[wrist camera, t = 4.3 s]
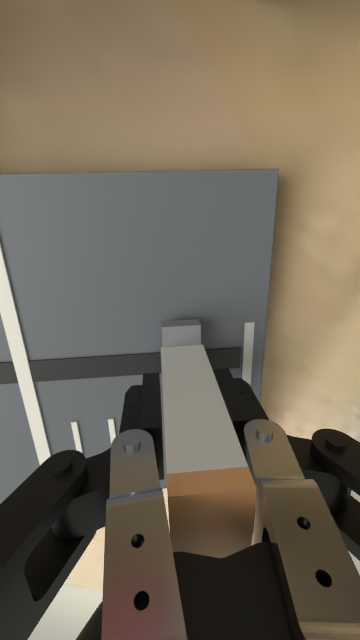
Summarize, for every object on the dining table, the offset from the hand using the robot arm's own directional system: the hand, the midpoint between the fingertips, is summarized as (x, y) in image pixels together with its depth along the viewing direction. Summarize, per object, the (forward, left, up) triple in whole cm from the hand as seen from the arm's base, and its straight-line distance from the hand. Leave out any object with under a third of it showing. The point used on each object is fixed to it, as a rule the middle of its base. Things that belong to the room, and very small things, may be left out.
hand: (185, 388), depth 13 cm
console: (+4, 0, -4) cm, 6 cm away
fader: (0, 0, -2) cm, 2 cm away
